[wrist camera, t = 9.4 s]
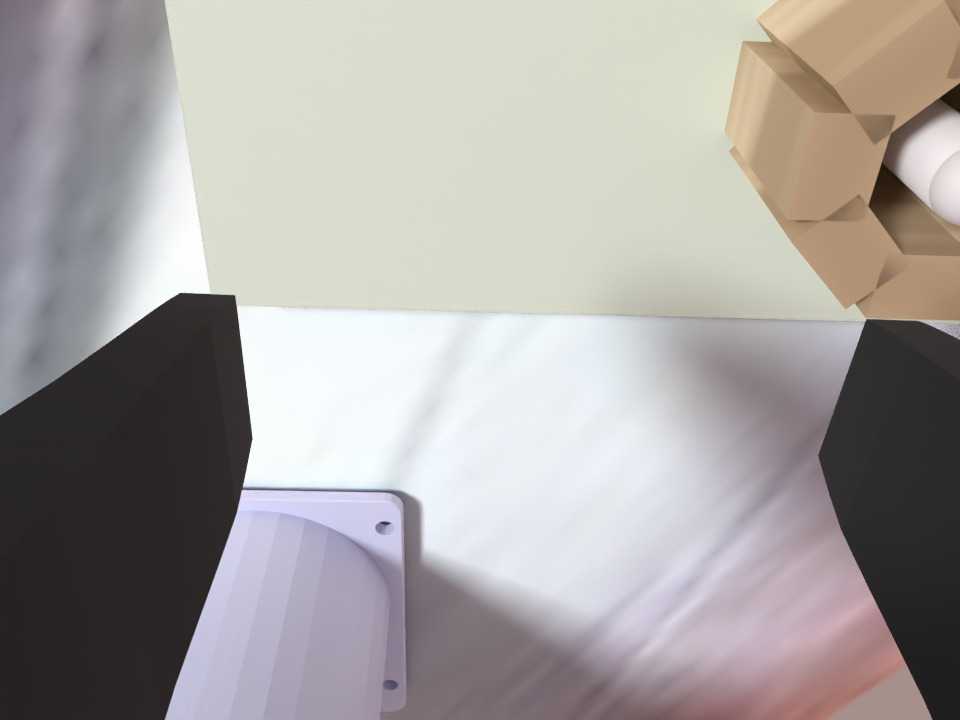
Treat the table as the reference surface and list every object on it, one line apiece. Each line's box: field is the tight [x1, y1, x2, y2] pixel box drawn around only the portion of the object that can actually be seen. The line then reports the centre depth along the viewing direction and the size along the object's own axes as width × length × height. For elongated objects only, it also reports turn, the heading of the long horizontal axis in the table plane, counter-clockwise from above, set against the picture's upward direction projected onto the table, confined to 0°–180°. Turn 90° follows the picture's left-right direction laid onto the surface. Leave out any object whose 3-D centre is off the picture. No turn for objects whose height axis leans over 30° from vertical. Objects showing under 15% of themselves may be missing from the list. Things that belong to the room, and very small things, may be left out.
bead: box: [725, 0, 960, 321], centre depth 15 cm, size 5×5×4 cm
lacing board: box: [165, 0, 960, 324], centre depth 15 cm, size 10×17×6 cm, turn 88°
